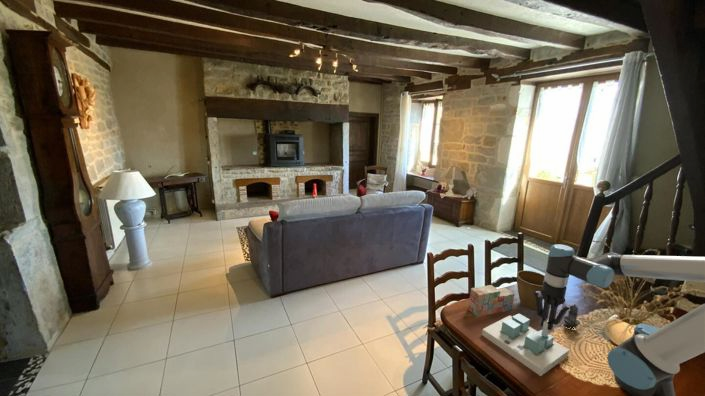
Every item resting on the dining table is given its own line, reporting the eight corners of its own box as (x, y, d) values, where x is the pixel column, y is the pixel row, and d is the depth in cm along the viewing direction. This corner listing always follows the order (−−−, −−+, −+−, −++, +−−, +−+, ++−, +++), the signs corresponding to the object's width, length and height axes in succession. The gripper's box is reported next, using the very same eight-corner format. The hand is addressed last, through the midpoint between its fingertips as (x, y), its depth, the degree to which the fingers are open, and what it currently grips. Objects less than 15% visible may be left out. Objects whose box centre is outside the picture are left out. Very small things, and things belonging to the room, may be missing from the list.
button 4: (551, 347, 119) (554, 337, 118) (545, 351, 117) (547, 341, 116) (539, 339, 123) (541, 329, 122) (532, 343, 121) (534, 333, 120)
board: (567, 356, 117) (569, 349, 116) (540, 376, 107) (542, 368, 106) (509, 320, 138) (510, 314, 137) (481, 334, 128) (482, 328, 127)
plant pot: (506, 298, 156) (510, 271, 152) (529, 295, 158) (534, 269, 155) (527, 315, 141) (532, 286, 138) (553, 312, 144) (559, 283, 140)
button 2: (528, 329, 127) (530, 319, 126) (521, 333, 125) (523, 323, 124) (517, 322, 131) (518, 313, 130) (510, 326, 129) (512, 316, 128)
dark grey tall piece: (580, 332, 131) (586, 308, 128) (566, 330, 132) (571, 307, 129) (573, 323, 136) (578, 301, 133) (559, 321, 137) (564, 299, 134)
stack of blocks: (502, 303, 152) (506, 282, 149) (512, 310, 146) (515, 288, 143) (467, 309, 146) (470, 287, 143) (476, 317, 140) (479, 294, 137)
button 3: (543, 350, 115) (545, 339, 114) (536, 354, 113) (538, 343, 112) (530, 342, 120) (532, 331, 118) (523, 346, 117) (525, 335, 116)
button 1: (518, 334, 124) (520, 324, 123) (511, 338, 121) (513, 328, 120) (507, 327, 128) (509, 318, 127) (500, 331, 126) (502, 321, 124)
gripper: (579, 288, 109) (567, 341, 115) (542, 273, 120) (533, 322, 126) (569, 293, 106) (557, 348, 111) (532, 278, 117) (523, 328, 122)
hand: (544, 334), depth 119 cm, fingers closed
